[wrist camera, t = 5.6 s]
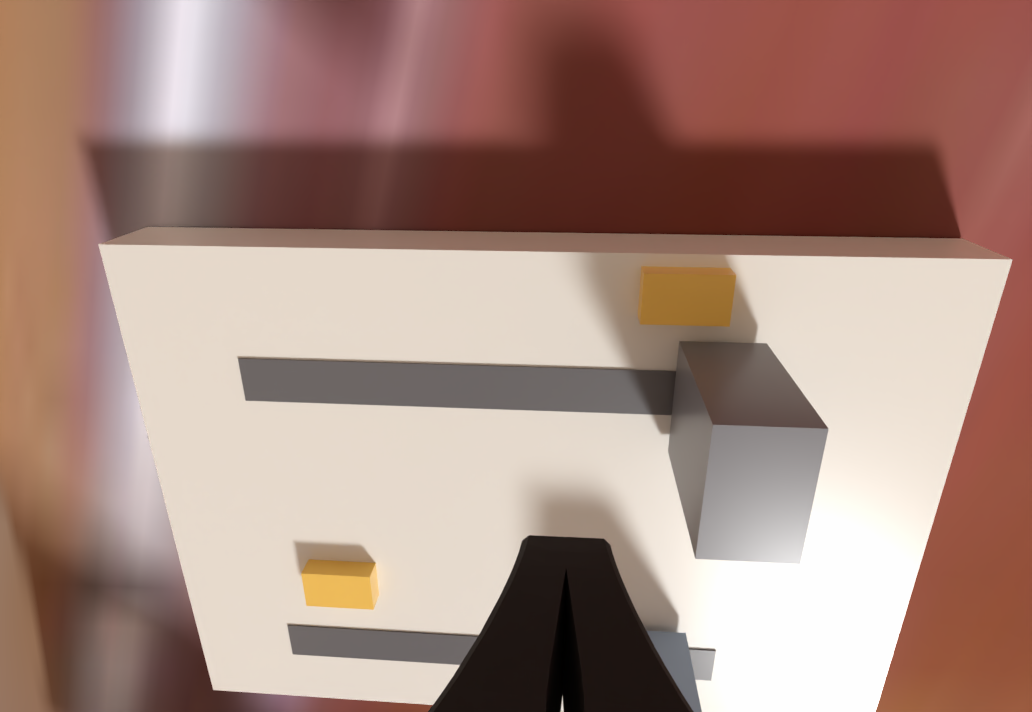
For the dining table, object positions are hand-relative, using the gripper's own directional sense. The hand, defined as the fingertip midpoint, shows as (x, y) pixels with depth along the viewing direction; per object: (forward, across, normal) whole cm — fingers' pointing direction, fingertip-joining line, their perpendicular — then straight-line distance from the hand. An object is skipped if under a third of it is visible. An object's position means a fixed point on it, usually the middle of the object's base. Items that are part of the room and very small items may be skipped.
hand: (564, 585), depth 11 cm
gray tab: (+6, -4, 0) cm, 7 cm away
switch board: (+8, +1, +4) cm, 9 cm away
